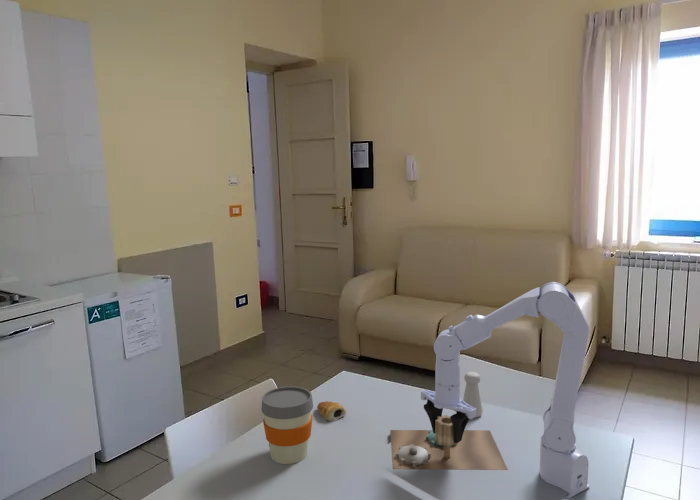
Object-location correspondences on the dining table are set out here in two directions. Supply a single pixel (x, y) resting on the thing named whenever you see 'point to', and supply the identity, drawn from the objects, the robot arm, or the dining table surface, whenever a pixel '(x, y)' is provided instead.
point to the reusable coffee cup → (287, 422)
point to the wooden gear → (444, 431)
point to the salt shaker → (473, 392)
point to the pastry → (331, 410)
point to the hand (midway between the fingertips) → (447, 436)
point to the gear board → (445, 451)
